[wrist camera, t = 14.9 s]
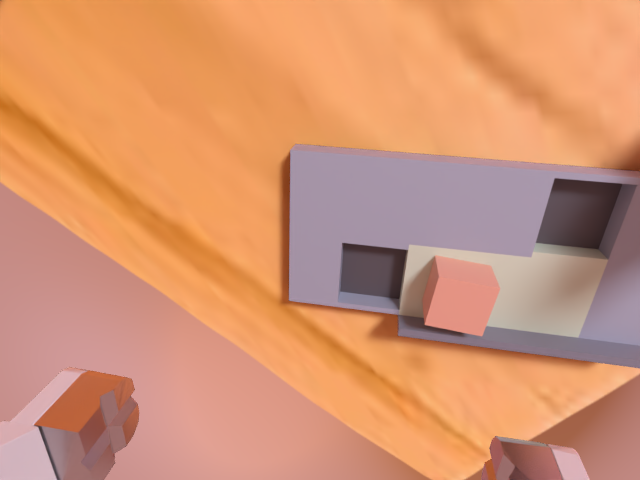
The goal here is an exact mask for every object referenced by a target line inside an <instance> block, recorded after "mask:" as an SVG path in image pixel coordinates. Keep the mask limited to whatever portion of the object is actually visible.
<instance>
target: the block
mask: <svg viewBox="0 0 640 480" xmlns="http://www.w3.org/2000/svg"><path fill="white" fill-rule="evenodd" d="M499 291H500V286H499V284H498V281H497V279H496V277H495V274H494V272H493V269H492V267H491V266H490V265H485V264H480V263H474V262H469V261H464V260H458V259H453V258H448V257H442V256H437V255H435V257H434V261H433V264H432V268H431V271H430V275H429V278H428V282H427V285H426V289H425V292H424V296H423V299H422V303H423V314H424V324H425V325H428V326H433V327H438V328H443V329H448V330H453V331H457V332H462V333H467V334H472V335H477V336H483V333H484V330H485V328H486V325H487V323H488V320H489V317H490V315H491V312H492V309H493V307H494V304H495V302H496V299H497V296H498V294H499Z"/></svg>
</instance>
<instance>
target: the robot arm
mask: <svg viewBox="0 0 640 480" xmlns="http://www.w3.org/2000/svg"><path fill="white" fill-rule="evenodd" d="M134 390H135V389H134V385H133V381H132V379H130V378H127V377H121V376H116V375H111V374H105V373H100V372H95V371H89V370H83V369H77V368H72V367H69V368H67V369H64V370H62V371H61V372H60V373H59V374H58V375H57V376H56V377H55V378H54V379H53V380H52V381H51V382H50V383H49V384H48V385H47V386H46V387H45V388H44V389H43V390H42V391H41V392H40V393H39V394H37V396H35V398H33V400H31V402H29V403H28V404H27V406H25V407H24V408H23V409H22V410H21V411H20V412H19V413H18V414H17V415H16V416H15V417H14V418H13V419H12V420H11V421H2V422H0V480H104V479H105V477H106V476H107V474H108V473H109V472H110V470H111V468H112V467H113V465H114V464H115V456H114V453H116V452H117V451H119V450H121V449H122V448H124V447H126V446H127V444H128V443H129V441H130V440H131V438H132V437H133V435H134V432H135V430H136V427H137V424H138V420H139V408H138V404H137V403H136V402H135V401H134V399H133V398H132V397H131V394H132V393H133V391H134ZM490 453H491V458H492V459H490V460H488V461H487V462H485V464H484V468H483V472H482V480H590V479H589V477H588V475H587V472H586V470H585V468H584V466H583V464H582V461H581V459H580V457H579V454H578V453H577V452H576V451H575V450H574V449H573V448H569V447H563V446H556V445H550V444H544V443H539V442H532V441H525V440H518V439H512V438H505V437H498V436H495V437H494V438H493V440H492V442H491V445H490Z"/></svg>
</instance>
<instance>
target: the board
mask: <svg viewBox="0 0 640 480" xmlns="http://www.w3.org/2000/svg"><path fill="white" fill-rule="evenodd" d="M435 255H437V256H442V257H448V258H453V259H458V260H464V261H469V262H474V263H480V264H485V265H490V266H491V267H492V269H493V272H494V274H495V277H496V279H497V281H498V284H499V286H500V291H499V294H498V296H497V299H496V302H495V304H494V307H493V309H492V312H491V315H490V317H489V320H488V323H487V325H486V328H485V330H484V333H483V336H477V335H472V334H467V333H462V332H457V331H453V330H448V329H443V328H438V327H433V326H428V325H425V324H424V314H423V303H422V299H423V296H424V292H425V289H426V285H427V282H428V278H429V275H430V271H431V268H432V264H433V261H434V257H435ZM289 301H295V302H303V303H310V304H318V305H326V306H334V307H342V308H349V309H357V310H365V311H373V312H381V313H388V314H396V315H398V336H404V337H411V338H419V339H426V340H434V341H441V342H449V343H456V344H463V345H471V346H478V347H486V348H493V349H501V350H508V351H516V352H523V353H530V354H538V355H545V356H553V357H560V358H568V359H575V360H583V361H590V362H597V363H605V364H612V365H620V366H627V367H635V368H640V171H631V170H618V169H605V168H593V167H580V166H567V165H555V164H542V163H529V162H517V161H504V160H492V159H479V158H466V157H454V156H441V155H428V154H416V153H403V152H391V151H378V150H365V149H353V148H340V147H327V146H315V145H302V144H295V145H294V147H293V148H292V149H291V150H290V243H289Z"/></svg>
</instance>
